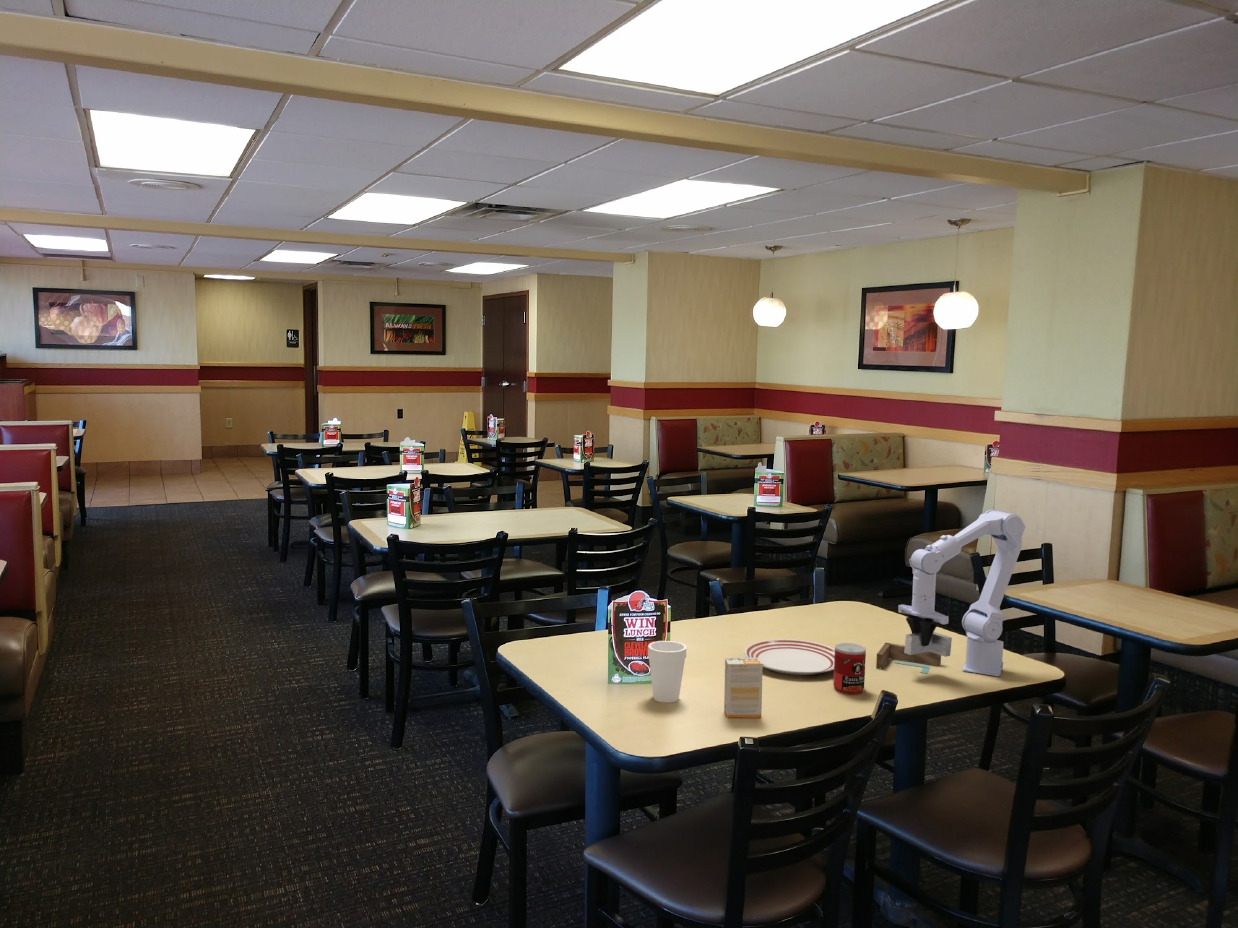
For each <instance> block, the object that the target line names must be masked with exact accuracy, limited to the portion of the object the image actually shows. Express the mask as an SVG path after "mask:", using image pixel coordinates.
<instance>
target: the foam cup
mask: <svg viewBox="0 0 1238 928" xmlns="http://www.w3.org/2000/svg"><path fill="white" fill-rule="evenodd" d="M687 649H688V647H687V645H686V644H684V643H682V642H678V641H673V640H657V641H653V642H651V643H650V642H649V644H648V646H647V656H648V662H649V670H650V679H651V680H650V681H651V689H652V691H651V692H652V697H653V699H654V700H655V701H656V702H659V703H665V704H667V703H675V702H677V701H678V700H680V694H681V688H682V681H683V675H684V669H685V668H684V667H685V661H686V658H687Z"/></svg>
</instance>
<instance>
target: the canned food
mask: <svg viewBox="0 0 1238 928" xmlns="http://www.w3.org/2000/svg"><path fill="white" fill-rule="evenodd" d="M834 649H835V656H834V670H833V688H834V689H835V691H836V692H838V693H841V694H845V695H858V694H861V693H863V692H864V690H865V679H866V678H865V675H866V657H867V656H866V655H867V651H866V647H865V646H863V645H860V644H856V643H851V642H842V643H841V642H840V643H837V644H836V645H835V646H834Z"/></svg>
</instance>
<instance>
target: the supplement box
mask: <svg viewBox="0 0 1238 928" xmlns="http://www.w3.org/2000/svg"><path fill="white" fill-rule="evenodd" d="M763 668H764V667H763V664H762V662H761V661H760V659H759V658H747V657H725V658H724V694H723V695H724V698H723V699H724V701H723V704H724V705H723V709H724V710H723V711H724V713H725V715H726V718H729V719H731V718H733V719H734V718H735V719H737V718H738V719H739V718H742V719H743V718H744V719H745V718H750V719H751V718H753V719H754V718H755V719H756V718H760V719H761V718H762V713H763V712H762V711H763V710H762V709H763V706H762V703H763V670H764V669H763Z"/></svg>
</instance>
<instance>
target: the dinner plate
mask: <svg viewBox="0 0 1238 928" xmlns="http://www.w3.org/2000/svg"><path fill="white" fill-rule="evenodd" d="M744 655H745V658H759V659H760V661H761V662H762V664H763V668H765V669H768V670H770V671H772V670H773V672H776V673H781V674H784V673H785V674H784V675H791V676H792V675H795V676H808V675H817V674H823V673H827V672H831V671H834V656H835V647H834V648H833V647H831V646H829V645H826V644H823V643H819V642H815V641H810V640H804V639H803V640H802V639H793V638H791V639H790V638H780V639H779V638H777V639H766V640H765V639H764V640H761V641H756V642H753V643H750V644H748V645H747V646H746V647H745V649H744Z"/></svg>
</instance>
